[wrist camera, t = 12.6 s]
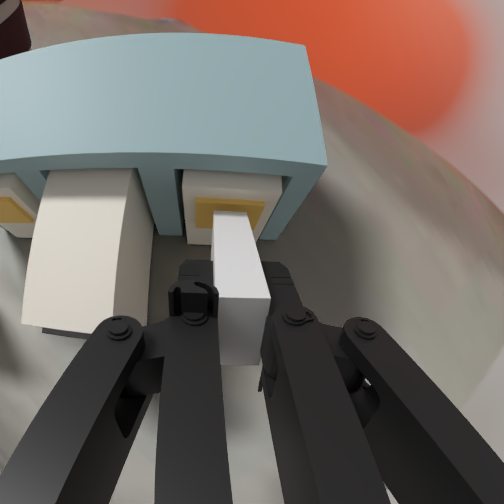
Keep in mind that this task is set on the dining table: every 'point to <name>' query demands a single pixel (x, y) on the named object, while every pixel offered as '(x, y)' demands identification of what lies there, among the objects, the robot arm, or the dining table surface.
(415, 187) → the dining table surface
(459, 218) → the dining table surface
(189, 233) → the button
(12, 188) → the button
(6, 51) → the coffee cup
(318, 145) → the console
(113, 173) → the middle button
